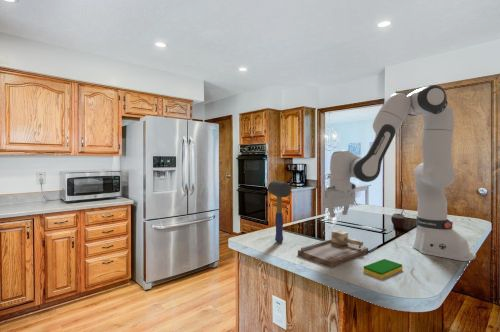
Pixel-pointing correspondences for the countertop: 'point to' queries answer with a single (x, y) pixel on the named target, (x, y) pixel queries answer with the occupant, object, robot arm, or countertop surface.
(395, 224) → the mate gourd
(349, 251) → the walnut board
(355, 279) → the countertop surface
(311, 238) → the countertop surface
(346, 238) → the marking gauge
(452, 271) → the countertop surface
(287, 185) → the rubber mallet
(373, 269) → the dish sponge
